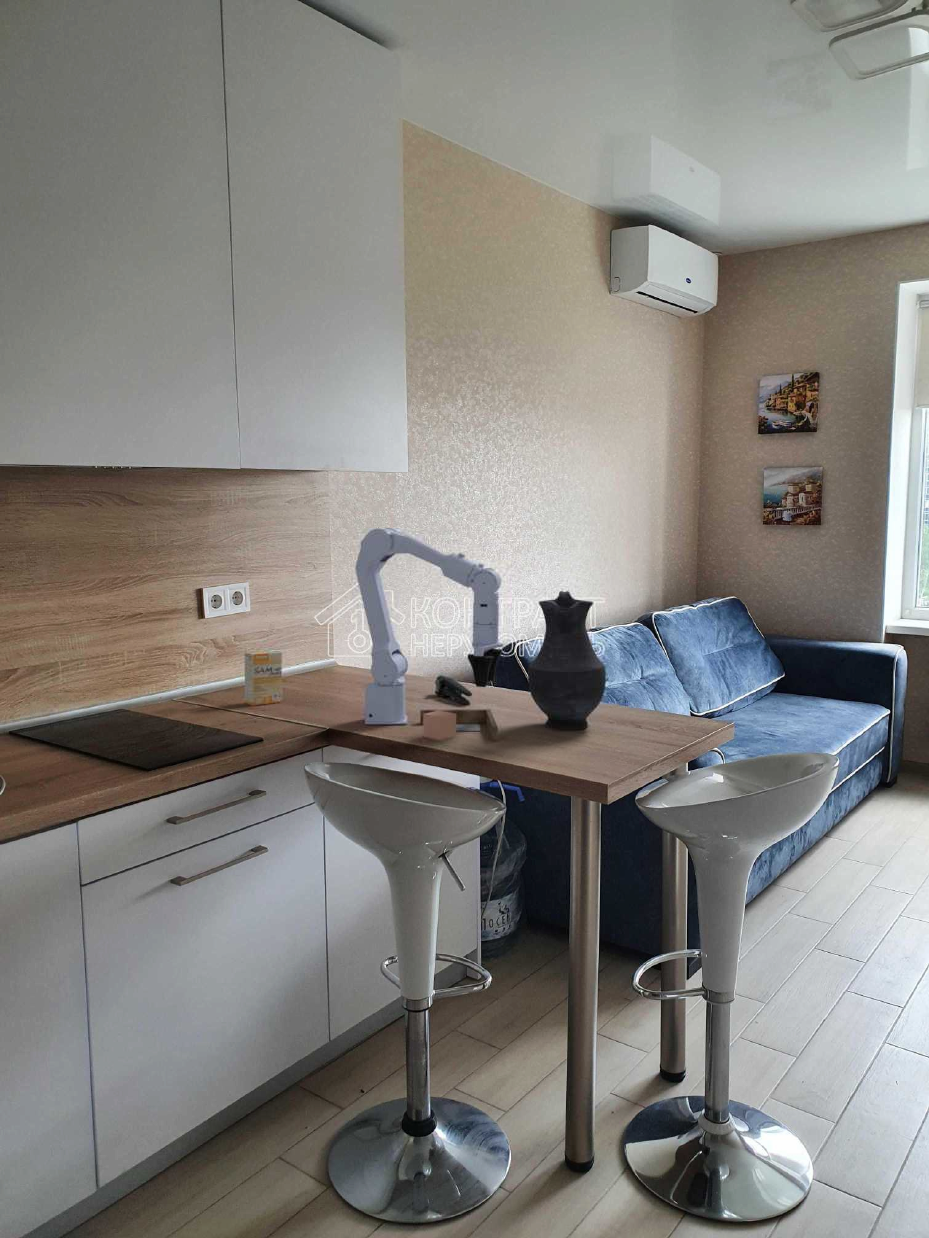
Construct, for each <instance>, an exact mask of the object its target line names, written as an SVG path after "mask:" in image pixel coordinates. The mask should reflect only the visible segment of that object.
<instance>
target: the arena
mask: <svg viewBox="0 0 929 1238" xmlns="http://www.w3.org/2000/svg"><path fill="white" fill-rule="evenodd" d="M435 711H444V712H449V713H454V714H456V733H460V732H461V733H462V732H482V728H481V726H480V725H481V724H486V726H487V729H488V732H489V736H490V737H491V740H492V742H498V741H499V740H498V739H499V734H498V733H499V727H498V724H497V723H496V720H495V717H494V715H493V713H492V710H491V709H489V708H488V709H487V708H485V709H484V708H480V709H479V708H475V709H473V708H472V709H471V708H470V709H469V708H467V709H465V708H464V709H461V708H460V709H459V708H457V709H454V708H453V709H446V708H445V709H420V711H419V712H420V715H419V718H420V719H419V720H420V721H419V722H420V724H423V714H426V713H430V712H435Z"/></svg>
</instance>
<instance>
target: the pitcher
mask: <svg viewBox="0 0 929 1238" xmlns="http://www.w3.org/2000/svg"><path fill="white" fill-rule="evenodd" d="M593 604H594V601H591V600H584V599H583V600H582V599H575V598H574V597H572V595H571V592H570V591H569V590H567V591H563V590H561V591H559V592H558V596H557V597H556V598H555V599H548V600H547V599H546V600H540V601H538V605H539V607H540V609H541V610H542V613H543V617H544V620H545V621H544V622H545V633H544V637H543V642H542V645H541V647H540V650H539V652H538V653H537V655H536V657H535V659H533V661H532V662H531V663H529V665H528V670H527V671H528V672H527V679H528V680H527V681H528V688H529V689H528V690H529V691H530V696H531V698H532V699H533V701H534V703H535V704H536V706H537V707H538V708H539V709H540V710H541V712H543V714H544V715H545V716H546V717H547V720H545V723H544V726H545V727H546V728H548V729H552V730H558V731H579V730H583V729H587V728H588V727H589V722H588V720H587V718H588V717H589V716H590V715H592V713H593V712H594V711H595V709H597V707H598V706H600V703H601V701H602V700H603V697H604V694H605V690H606V680H607V679H606V678H607V677H606V676H607V673H606V665H605V664H604V663H603V662H602V661H601V660H600V658H599V657H598V655H597V654H596V651H595V650H594V647H593V645H592V642H591V639H590V636H589V634H588V630H587V626H586V621H587V617H588V614H589V611H590V609H591V607H592V606H593Z"/></svg>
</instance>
